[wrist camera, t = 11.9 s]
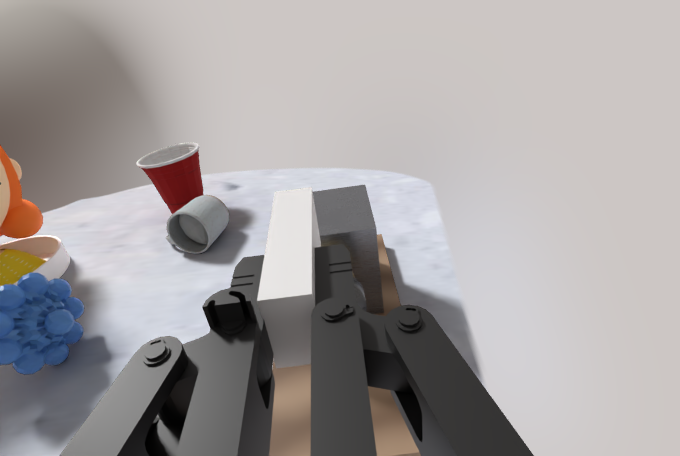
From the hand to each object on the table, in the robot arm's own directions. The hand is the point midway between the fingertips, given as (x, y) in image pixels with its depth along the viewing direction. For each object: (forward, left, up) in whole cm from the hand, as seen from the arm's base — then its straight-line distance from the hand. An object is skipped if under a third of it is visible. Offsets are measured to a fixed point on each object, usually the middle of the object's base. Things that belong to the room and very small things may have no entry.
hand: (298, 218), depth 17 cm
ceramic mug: (+37, +33, -26) cm, 56 cm away
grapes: (+12, +37, -26) cm, 46 cm away
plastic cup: (+47, +41, -26) cm, 67 cm away
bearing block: (+24, +7, -24) cm, 34 cm away
